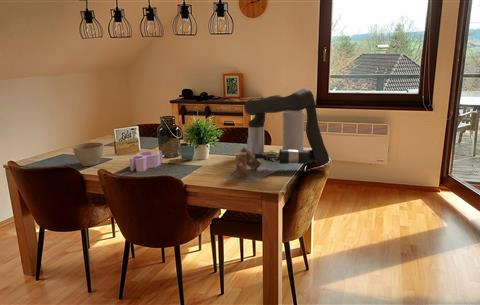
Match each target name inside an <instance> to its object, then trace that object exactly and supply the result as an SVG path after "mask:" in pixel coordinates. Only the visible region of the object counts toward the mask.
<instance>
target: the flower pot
mask: <svg viewBox="0 0 480 305" xmlns="http://www.w3.org/2000/svg"><path fill="white" fill-rule="evenodd" d="M187 143H188V142H179V144H178V147H179V148H178V149H179V154H180V157H181V159H182V161H189V160H190V161H192V160H193V158H194V156H195V151H194V147H195V148H196V146H195V145H196V144H195V145H193V146H188V144H187Z"/></svg>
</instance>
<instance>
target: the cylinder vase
mask: <svg viewBox="0 0 480 305" xmlns="http://www.w3.org/2000/svg"><path fill="white" fill-rule="evenodd" d="M304 131H305V111H304V110H301V111H283V112H282V149H293V150H304V144H305V143H304V142H305V141H304V139H305V138H304V137H305V132H304Z"/></svg>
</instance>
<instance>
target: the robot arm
mask: <svg viewBox="0 0 480 305" xmlns="http://www.w3.org/2000/svg"><path fill="white" fill-rule="evenodd" d="M313 94H314V93H313V92H312V91H311V89H309V88H307V87H304V88H302V89H299V90H297V91H295V92H293V93H291V94H289V95H286V96H283V95H281V94H276V95H275V94H274V95H270V96H266V97H263V98H251V99H248V100H246V102H245V104H244V111H245V113H246V114H247V115H249V116H254V117H253V118H252V119H250V120H249V121H248V124H247V125H248V138H247V139H246V140H247V143H246V146H247V147H246V149H247V150H248V151H250V152H251V153H252V154H253V155H254V156H255V158H256V159H259V160H261V159H262V160H263V161H267V162H272V163H274V162H276V161H278V162H279V164H280V165H299V164H300V165H305V164H309V163H316V164H317V165H318V166H321V165H324V164H326V163H327V164H328V163H329V162H330V157H329V153H328V150H327V147H326V146H325V143H324V140H323V136H322V133H321V130H320V127H319V126H320V125H319V120H318V115H317V109H316V102H315V97H314V95H313ZM304 110H305V111H306V125H305V126H306V127H305V134H306V138H307V141H308V144H309V146H310V148H311V149H308V150H307V149H306V150H305V149H303V150H293V149H283V148H282V149H279V150H278V151H279V152H276V151H272V150H271V151H266V152H265V120H266V114H277V113H283V111H304ZM327 164H326V165H327ZM324 166H325V165H324Z"/></svg>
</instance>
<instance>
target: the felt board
mask: <svg viewBox="0 0 480 305" xmlns="http://www.w3.org/2000/svg"><path fill="white" fill-rule="evenodd" d="M277 171H279V169H276V168H275V169H274V168H271V167H270V168H269V167H265V166H261V165H260V166H259V167H258V168H257V169H256V171H254V170H253V169H252V168H251V167H249V166H248V165H247V179H236V171H234V172H231V173H229V174H227V175H223V178H226V179H229V180H233V181H234V180H236V181H240V182H245V183H249V184H252V183H254V182H256V181H258V180H261V179H263V178H265V177H267V176H269V175H271V174H273V173H276V172H277Z"/></svg>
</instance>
